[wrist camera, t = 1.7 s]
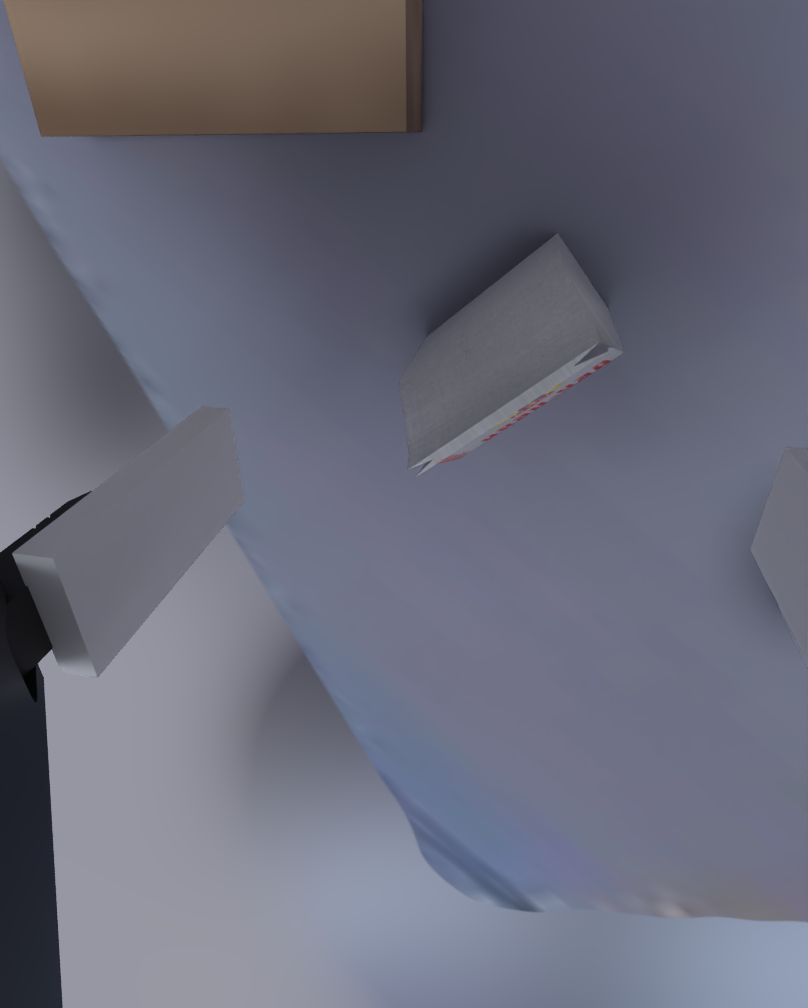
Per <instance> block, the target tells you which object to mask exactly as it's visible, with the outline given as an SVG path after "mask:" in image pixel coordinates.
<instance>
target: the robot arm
mask: <svg viewBox="0 0 808 1008" xmlns="http://www.w3.org/2000/svg"><path fill="white" fill-rule="evenodd" d="M244 501H245V500H244V494H243V488H242V482H241V476H240V470H239V464H238V458H237V452H236V446H235V440H234V434H233V428H232V422H231V416H230V410H229V408H215V407H201V408H199V409H198V410H197V411H195V412H194V413H193V414H192V415H190V416H189V417H188V418H186V419H185V420H184V421H182V422H181V423H180V424H179V425H177V426H176V427H175V428H173V429H172V430H171V431H170V432H168V433H167V434H166V435H164V436H163V437H162V438H161V439H159V440H158V441H157V442H155V443H154V444H153V445H151V446H150V447H149V448H148V449H146V450H145V451H144V452H142V453H141V454H140V455H138V456H137V457H136V458H135V459H133V460H132V461H131V462H129V463H128V464H127V465H126V466H124V467H123V468H122V469H120V470H119V471H118V472H116V473H115V474H114V475H113V476H111V477H110V478H109V479H107V480H106V481H105V482H104V483H102V484H101V485H100V486H98V487H97V488H96V489H94V490H93V491H90V492H88V493H86V494H83V495H81V496H79V497H77V498H75V499H72V500H70V501H68V502H67V503H66V504H64V505H63V506H61V507H60V508H59V509H57V510H56V511H55V512H53V513H52V514H51V515H50V518H48V517H47V518H46V519H44V520H43V521H42V522H40V523H39V524H38V525H36V528H35V529H34V528H32V529H31V530H29V531H28V532H27V533H26V534H24V535H23V536H22V537H20V538H19V539H18V540H16V541H15V542H14V543H12V544H11V545H10V546H8V547H7V548H6V549H4V550H3V551H2V552H0V1008H62V990H61V974H60V955H59V939H58V920H57V903H56V886H55V868H54V851H53V833H52V816H51V798H50V781H49V763H48V746H47V729H46V712H45V694H44V677H43V675H42V673H41V670H40V668H39V666H38V663H39V662H40V660H41V659H42V658H43V657H44V656H45V655H46V654H47V653H48V652H49V651H50V650H51V649H52V650H53V653H54V655H55V658H56V660H57V663H58V665H59V667H60V670H61V672H64V673H70V674H76V675H83V676H90V677H95V678H98V677H99V676H100V674H101V673H102V672H103V671H104V670H105V668H106V667H107V666H108V665H109V664H110V662H111V661H112V660H113V659H114V658H115V656H116V655H117V654H118V653H119V652H120V650H121V649H122V648H123V647H124V646H125V644H126V643H127V642H128V641H129V639H130V638H131V637H132V636H133V635H134V634H135V632H136V631H137V630H138V629H139V627H140V626H141V625H142V624H143V623H144V622H145V620H146V619H147V618H148V617H149V616H150V614H151V613H152V612H153V611H154V610H155V608H156V607H157V606H158V604H160V602H161V601H162V600H163V599H164V598H165V596H166V595H167V594H168V593H169V591H170V590H171V589H172V588H173V587H174V585H175V584H176V583H177V582H178V581H179V579H180V578H181V577H182V576H183V575H184V573H185V572H186V571H187V570H188V569H189V567H190V566H191V565H192V564H193V563H194V561H195V560H196V559H197V558H198V556H199V555H200V554H201V553H202V552H203V551H204V549H205V548H206V547H207V546H208V545H209V543H210V542H211V541H212V540H213V539H214V537H215V536H216V535H217V534H218V533H219V531H220V530H221V529H222V528H223V527H224V525H225V524H226V523H227V522H228V521H229V519H230V518H231V517H232V516H233V515H234V513H235V512H236V511H237V510H238V509H239V507H240V506H241V505H242V504H243V503H244ZM750 551H751V553H752V555H753V557H754V559H755V560H756V562H757V564H758V566H759V568H760V570H761V572H762V574H763V576H764V578H765V580H766V582H767V584H768V586H769V588H770V590H771V592H772V594H773V596H774V597H775V599H776V601H777V603H778V605H779V607H780V609H781V611H782V613H783V615H784V617H785V619H786V621H787V623H788V625H789V627H790V629H791V631H792V633H793V634H794V636H795V638H796V640H797V642H798V644H799V646H800V648H801V650H802V652H803V654H804V656H805V658H806V660H807V662H808V449H806V448H791V447H786V448H785V451H784V454H783V457H782V460H781V463H780V466H779V468H778V471H777V474H776V477H775V480H774V483H773V486H772V489H771V491H770V494H769V497H768V500H767V503H766V506H765V509H764V512H763V514H762V517H761V520H760V523H759V526H758V529H757V532H756V535H755V537H754V540H753V543H752V546H751V549H750Z"/></svg>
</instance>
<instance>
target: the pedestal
mask: <svg viewBox="0 0 808 1008" xmlns="http://www.w3.org/2000/svg"><path fill="white" fill-rule="evenodd" d="M4 4H5V7H6V11H7V14H8V18H9V22H10V25H11V29H12V32H13V36H14V40H15V43H16V47H17V51H18V54H19V58H20V61H21V65H22V69H23V72H24V76H25V79H26V83H27V87H28V90H29V94H30V98H31V101H32V105H33V108H34V112H35V116H36V119H37V123H38V127H39V130H40V134H41V136H150V135H226V134H302V133H379V132H422V4H423V0H4Z"/></svg>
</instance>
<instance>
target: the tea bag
mask: <svg viewBox="0 0 808 1008" xmlns="http://www.w3.org/2000/svg"><path fill="white" fill-rule="evenodd" d="M623 353H624V352H623V349H622V346H621V343H620V340H619V338H618V335H617V332H616V329H615V326H614V323H613V320H612V318H611V315H610V312H609V309H608V307H607V306H606V304H605V303H604V301H603V300H602V298H601V297H600V295H599V294H598V292H597V291H596V289H595V288H594V286H593V285H592V283H591V282H590V280H589V279H588V277H587V276H586V274H585V273H584V271H583V270H582V268H581V267H580V265H579V264H578V262H577V261H576V259H575V258H574V256H573V255H572V253H571V252H570V250H569V249H568V247H567V246H566V244H565V243H564V241H563V240H562V238H561V237H560V235H559V234H558V233H557V234H556V235H554V236H553V237H552V238H551V239H549V240H548V241H547V242H546V243H544V244H543V245H542V246H541V247H539V248H538V249H537V250H536V251H534V252H533V253H532V254H530V255H529V256H528V257H527V258H525V259H524V260H523V261H522V262H520V263H519V264H518V265H517V266H515V267H514V268H513V269H511V270H510V271H509V272H508V273H506V274H505V275H504V276H503V277H501V278H500V279H499V280H498V281H496V282H495V283H494V284H492V285H491V286H490V287H489V288H487V289H486V290H485V291H484V292H482V293H481V294H480V295H479V296H477V297H476V298H475V299H474V300H472V301H471V302H470V303H468V304H467V305H466V306H465V307H463V308H462V309H461V310H460V311H458V312H457V313H456V314H455V315H453V316H452V317H451V318H449V319H448V320H447V321H446V322H444V323H443V324H442V325H441V326H439V327H438V328H437V329H436V330H434V331H433V332H432V333H430V334H429V335H428V336H427V337H426V338H425V340H424V341H423V343H422V345H421V346H420V348H419V350H418V352H417V353H416V355H415V357H414V358H413V360H412V362H411V363H410V365H409V367H408V368H407V370H406V372H405V373H404V375H403V377H402V378H401V380H400V382H399V386H400V393H401V400H402V406H403V413H404V419H405V426H406V432H407V444H408V468H407V470H409V469H411V468H413V467H416V466H418V465H421V464H423V463H425V465H424V466H423V468H422V469H421V470H420V472H419V473H418V474H417V475H416V477H417V476H419V475H420V474H422V473H423V472H425V471H426V470H428V469H429V468H431V467H432V466H434V465H435V464H438V463H442V462H446V461H450V460H454V459H458V458H461V457H463V456H464V455H466V454H467V453H469V452H471V451H472V450H474V449H475V448H477V447H478V446H480V445H481V444H483V443H484V442H486V441H488V440H489V439H491V438H492V437H494V436H495V435H497V434H498V433H500V432H502V431H503V430H505V429H506V428H508V427H509V426H511V425H512V424H514V423H516V422H517V421H519V420H520V419H522V418H523V417H525V416H526V415H528V414H529V413H531V412H533V411H534V410H536V409H537V408H539V407H540V406H542V405H543V404H545V403H547V402H548V401H550V400H551V399H553V398H554V397H556V396H557V395H559V394H560V393H562V392H564V391H565V390H567V389H568V388H570V387H571V386H573V385H574V384H576V383H578V382H579V381H581V380H582V379H584V378H585V377H587V376H588V375H590V374H592V373H593V372H595V371H596V370H598V369H599V368H601V367H602V366H604V365H605V364H607V363H609V362H610V361H612V360H613V359H615V358H616V357H618V356H619V355H621V354H623Z"/></svg>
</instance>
